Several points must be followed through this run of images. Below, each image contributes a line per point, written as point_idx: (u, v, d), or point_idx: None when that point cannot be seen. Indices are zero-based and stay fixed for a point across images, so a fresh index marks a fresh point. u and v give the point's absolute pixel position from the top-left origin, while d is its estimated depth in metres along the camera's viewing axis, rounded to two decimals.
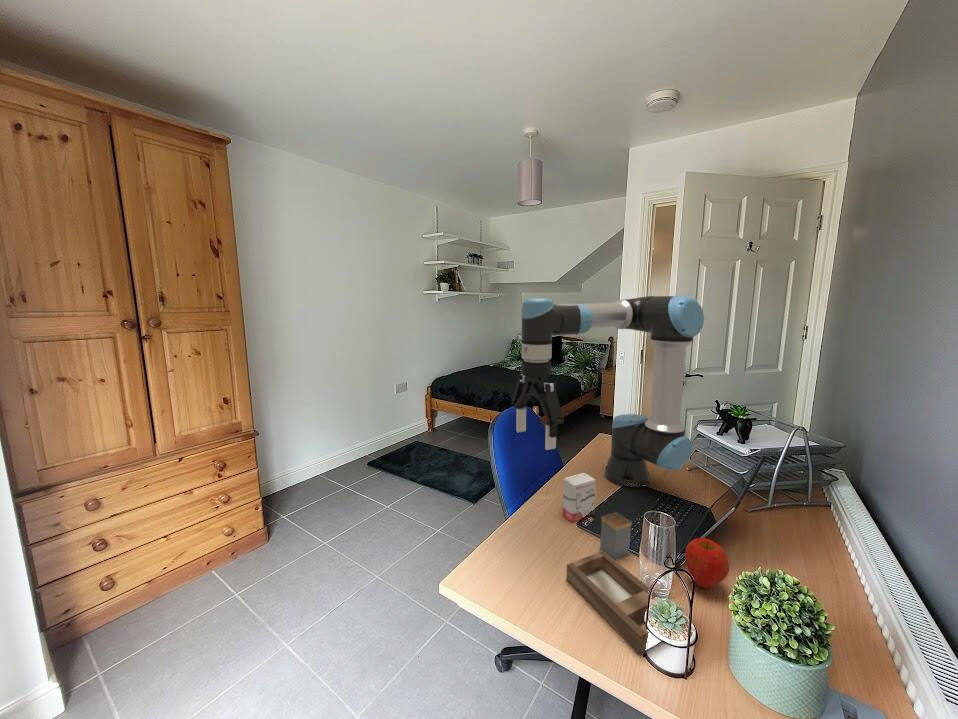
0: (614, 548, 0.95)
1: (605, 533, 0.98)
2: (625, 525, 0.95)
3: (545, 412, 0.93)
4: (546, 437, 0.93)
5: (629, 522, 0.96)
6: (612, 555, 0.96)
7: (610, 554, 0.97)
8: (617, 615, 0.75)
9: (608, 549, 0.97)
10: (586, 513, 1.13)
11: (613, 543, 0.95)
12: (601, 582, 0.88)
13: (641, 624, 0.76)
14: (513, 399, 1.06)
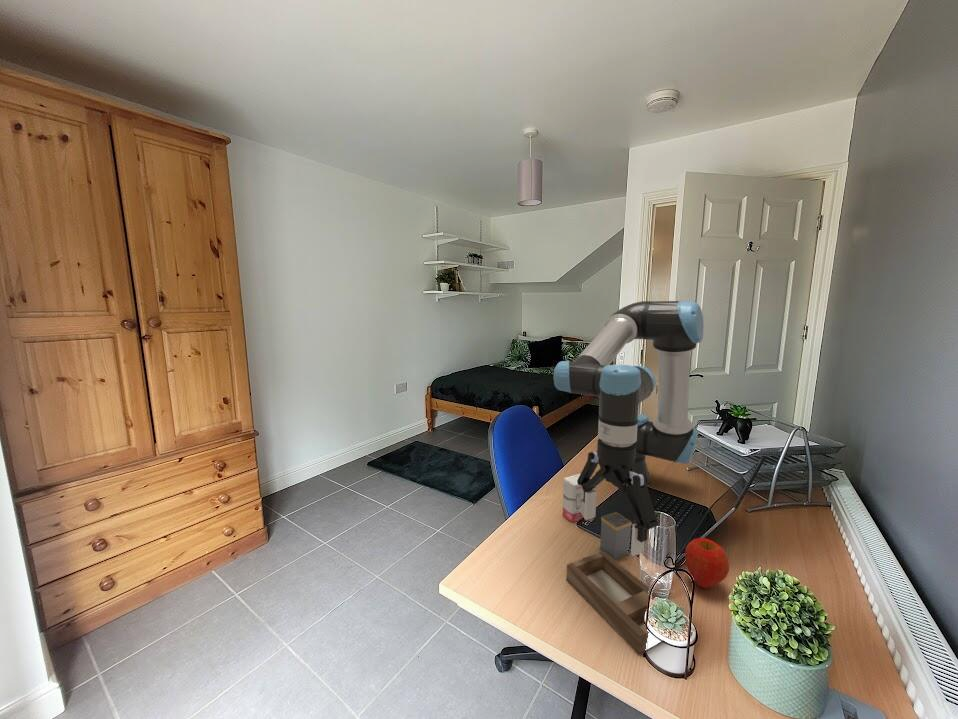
0: (614, 548, 0.95)
1: (605, 533, 0.98)
2: (625, 525, 0.95)
3: (632, 510, 0.75)
4: (633, 540, 0.75)
5: (629, 522, 0.96)
6: (612, 555, 0.96)
7: (610, 554, 0.97)
8: (617, 615, 0.75)
9: (608, 549, 0.97)
10: None
11: (613, 543, 0.95)
12: (601, 582, 0.88)
13: (641, 624, 0.76)
14: (580, 479, 0.88)
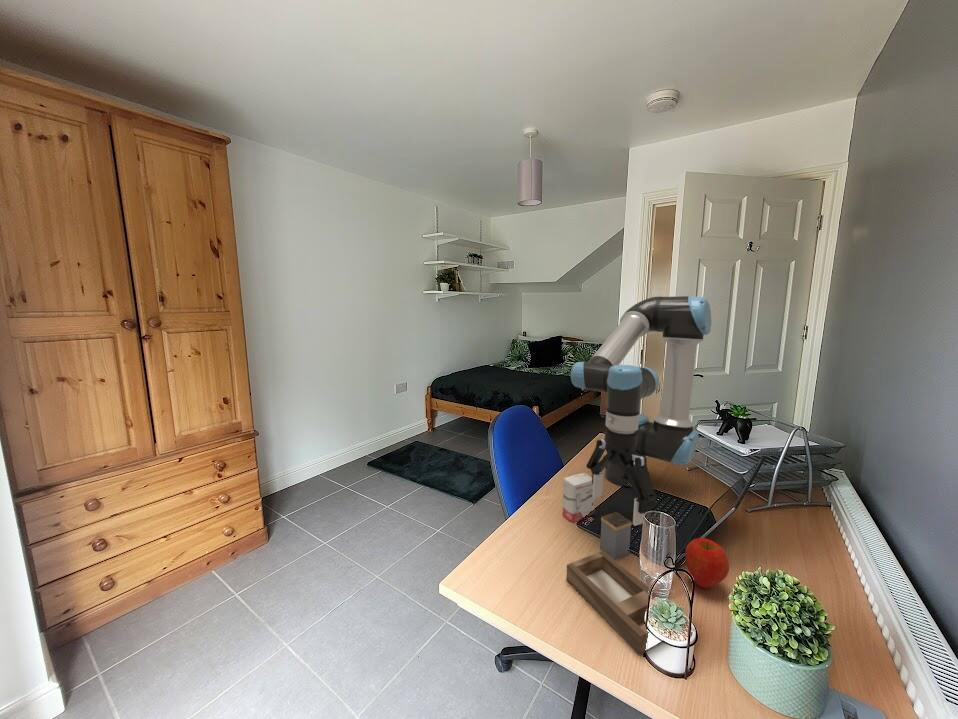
0: (614, 548, 0.95)
1: (605, 533, 0.98)
2: (625, 525, 0.95)
3: (634, 486, 0.89)
4: (635, 512, 0.89)
5: (629, 522, 0.96)
6: (612, 555, 0.96)
7: (610, 554, 0.97)
8: (617, 615, 0.75)
9: (608, 549, 0.97)
10: (586, 513, 1.13)
11: (613, 543, 0.95)
12: (601, 582, 0.88)
13: (641, 624, 0.76)
14: (589, 463, 1.03)
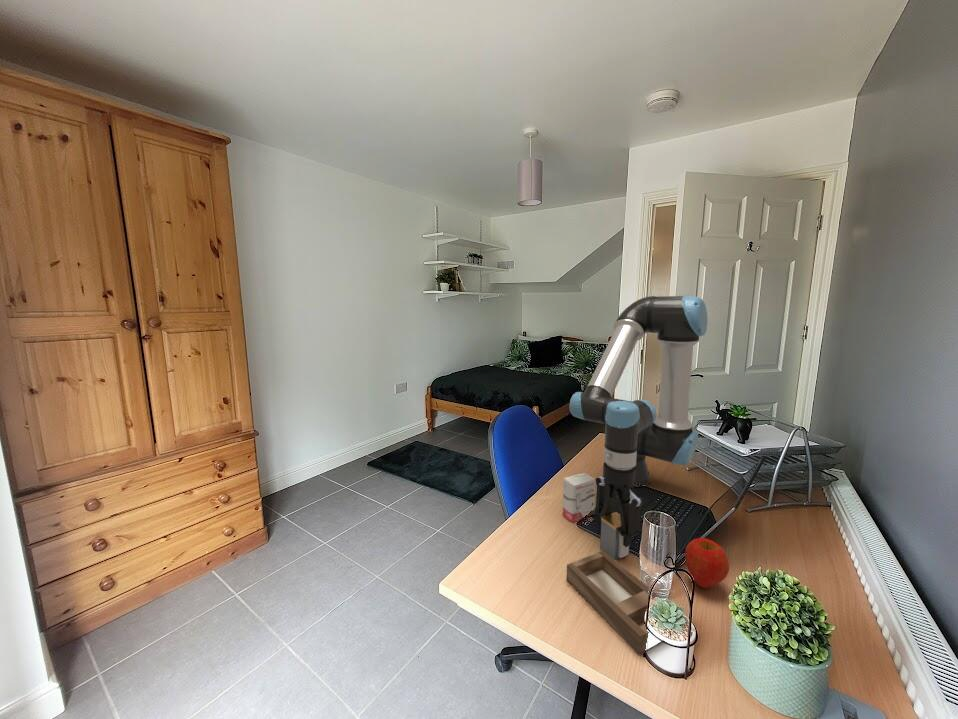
0: (614, 548, 0.95)
1: (605, 533, 0.98)
2: None
3: (622, 521, 0.94)
4: (620, 545, 0.95)
5: None
6: (612, 555, 0.96)
7: (610, 554, 0.97)
8: (617, 615, 0.75)
9: (608, 549, 0.97)
10: (586, 513, 1.13)
11: (613, 543, 0.95)
12: (601, 582, 0.88)
13: (641, 624, 0.76)
14: (597, 507, 1.01)
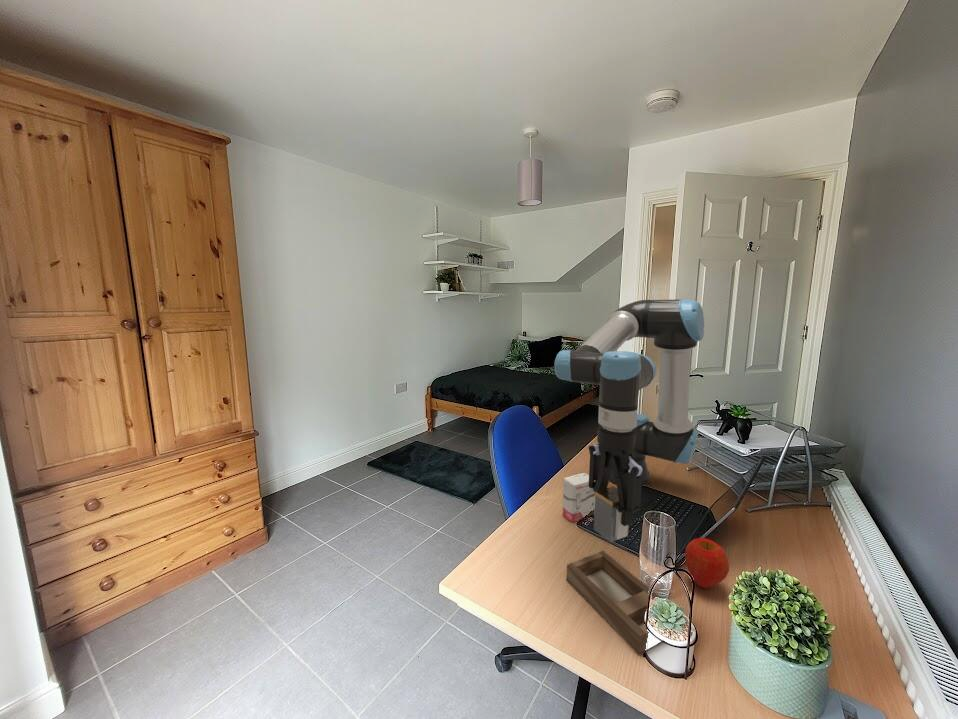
0: (610, 527, 0.79)
1: (599, 510, 0.82)
2: None
3: (620, 495, 0.78)
4: (617, 524, 0.79)
5: None
6: (608, 536, 0.80)
7: (605, 535, 0.81)
8: (617, 615, 0.75)
9: (603, 529, 0.81)
10: (586, 513, 1.13)
11: (609, 521, 0.79)
12: (601, 582, 0.88)
13: (641, 624, 0.76)
14: (590, 481, 0.86)
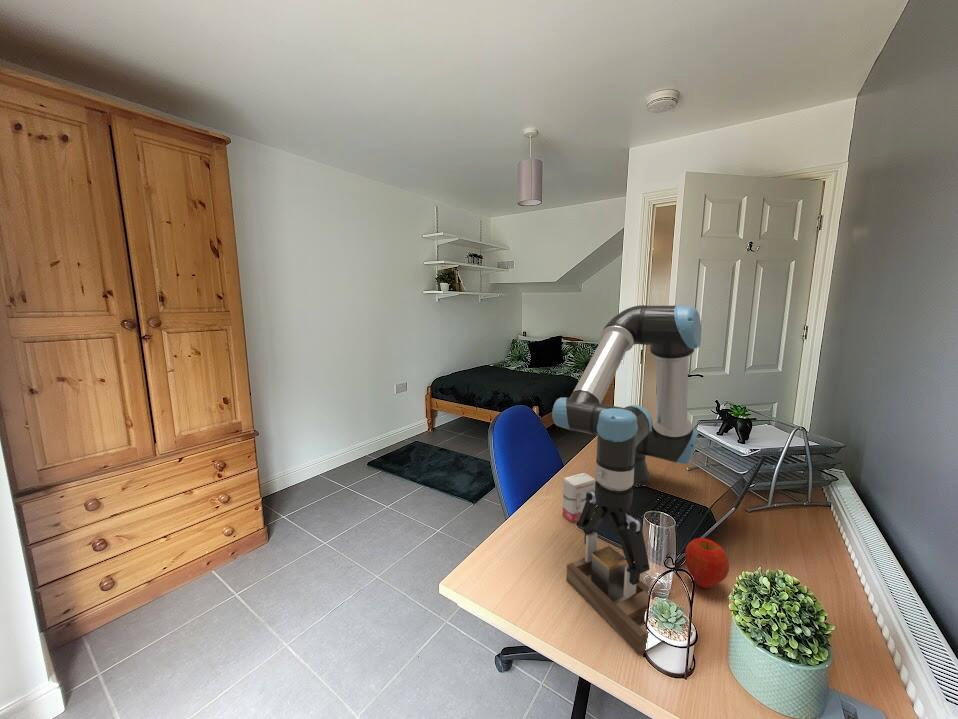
0: (607, 590, 0.81)
1: (596, 572, 0.84)
2: (620, 563, 0.81)
3: (626, 553, 0.77)
4: (625, 583, 0.78)
5: (624, 559, 0.82)
6: None
7: None
8: (617, 615, 0.75)
9: None
10: None
11: (606, 584, 0.81)
12: None
13: (641, 624, 0.76)
14: (581, 521, 0.89)
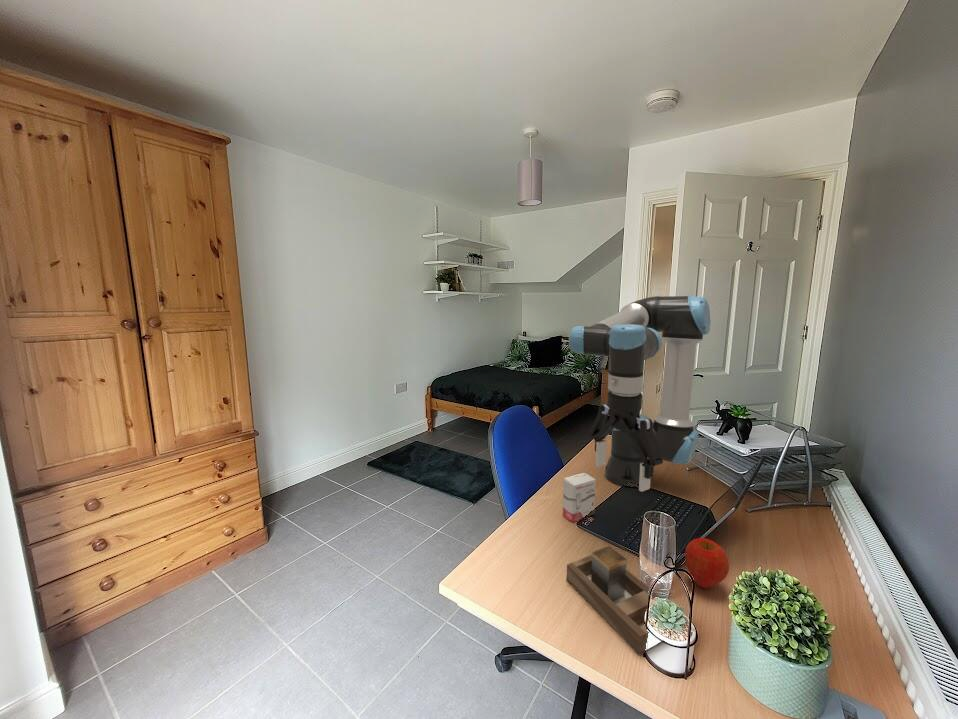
0: (607, 590, 0.81)
1: (596, 572, 0.84)
2: (620, 563, 0.81)
3: (639, 451, 0.85)
4: (641, 478, 0.85)
5: (624, 559, 0.82)
6: None
7: None
8: (617, 615, 0.75)
9: None
10: (586, 513, 1.13)
11: (606, 584, 0.81)
12: None
13: (641, 624, 0.76)
14: (591, 431, 0.98)
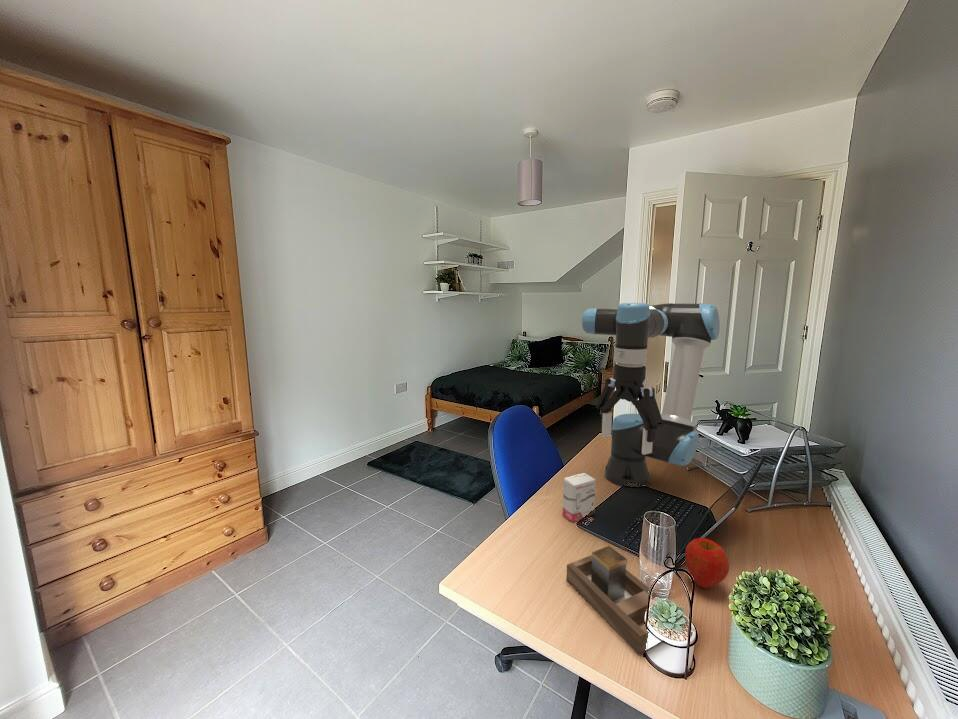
0: (607, 590, 0.81)
1: (596, 572, 0.84)
2: (620, 563, 0.81)
3: (643, 417, 0.93)
4: (643, 442, 0.93)
5: (624, 559, 0.82)
6: None
7: None
8: (617, 615, 0.75)
9: None
10: (586, 513, 1.13)
11: (606, 584, 0.81)
12: None
13: (641, 624, 0.76)
14: (598, 403, 1.06)
